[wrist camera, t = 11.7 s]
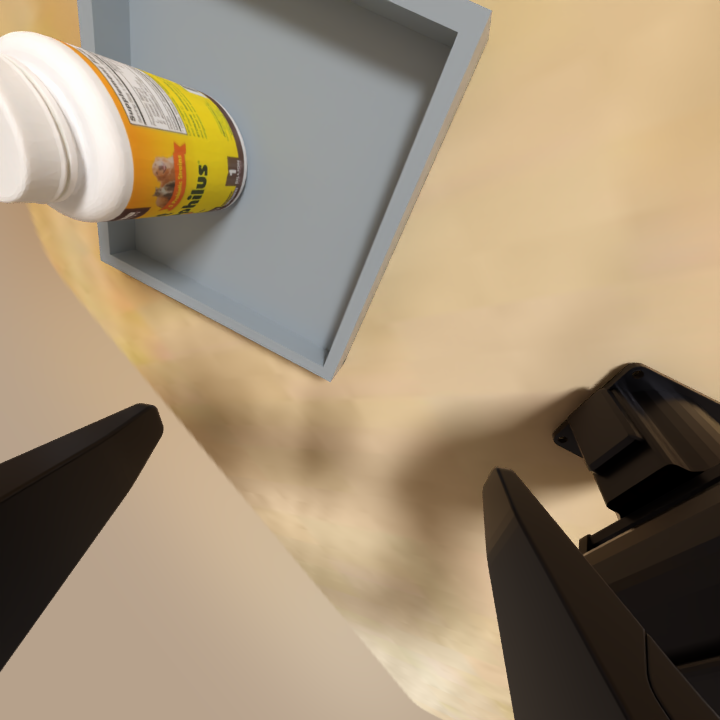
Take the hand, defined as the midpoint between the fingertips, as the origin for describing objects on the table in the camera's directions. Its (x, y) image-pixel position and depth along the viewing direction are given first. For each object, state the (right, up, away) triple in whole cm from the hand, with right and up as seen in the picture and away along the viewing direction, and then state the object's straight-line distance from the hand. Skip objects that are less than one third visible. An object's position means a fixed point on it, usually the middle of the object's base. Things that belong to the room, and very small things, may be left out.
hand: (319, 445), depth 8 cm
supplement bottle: (-7, +14, +10) cm, 18 cm away
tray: (-5, +13, +10) cm, 17 cm away
